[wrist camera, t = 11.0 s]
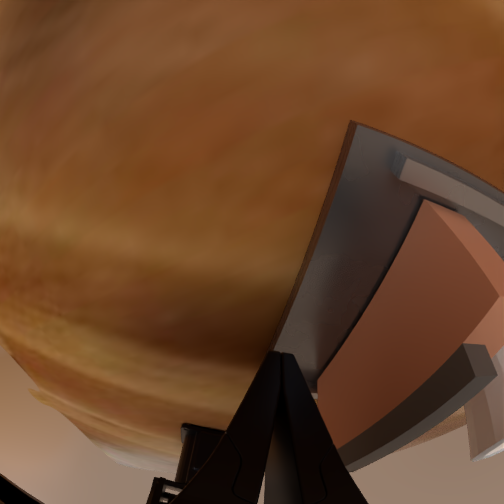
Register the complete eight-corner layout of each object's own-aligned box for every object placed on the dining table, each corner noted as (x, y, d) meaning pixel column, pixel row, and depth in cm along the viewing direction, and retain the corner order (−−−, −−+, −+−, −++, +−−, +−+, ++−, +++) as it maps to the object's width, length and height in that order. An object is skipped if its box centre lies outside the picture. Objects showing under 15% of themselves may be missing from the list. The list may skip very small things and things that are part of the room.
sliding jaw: (349, 383, 15) (355, 477, 10) (317, 380, 14) (317, 479, 10) (463, 215, 8) (552, 333, 3) (424, 198, 8) (519, 330, 3)
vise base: (487, 380, 17) (504, 435, 12) (260, 368, 16) (249, 462, 11) (584, 255, 9) (623, 310, 4) (350, 119, 8) (437, 185, 3)
